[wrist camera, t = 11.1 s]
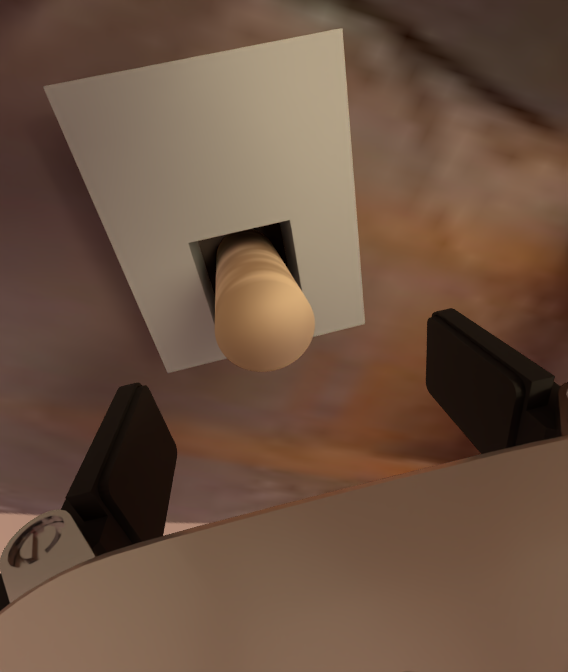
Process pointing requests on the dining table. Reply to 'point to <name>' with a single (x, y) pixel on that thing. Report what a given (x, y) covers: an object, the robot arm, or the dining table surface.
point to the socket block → (221, 177)
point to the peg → (259, 305)
